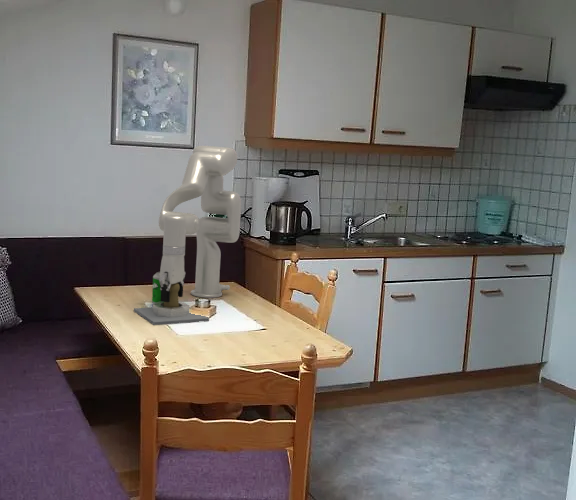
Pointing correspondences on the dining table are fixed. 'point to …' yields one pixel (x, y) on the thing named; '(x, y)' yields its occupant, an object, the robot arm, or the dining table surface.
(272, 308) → the dining table surface
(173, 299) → the cork
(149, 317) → the slate board
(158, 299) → the soda can
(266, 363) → the dining table surface
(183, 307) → the steel collar
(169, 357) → the dining table surface
